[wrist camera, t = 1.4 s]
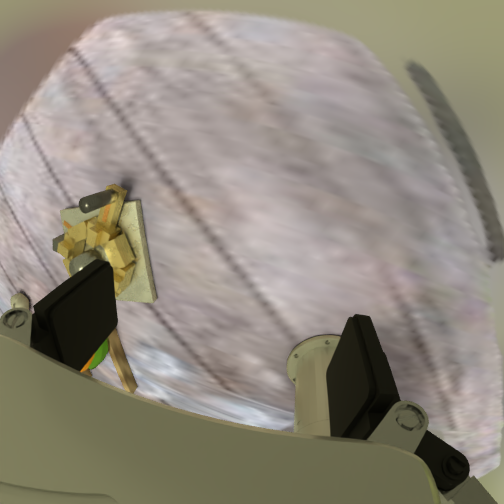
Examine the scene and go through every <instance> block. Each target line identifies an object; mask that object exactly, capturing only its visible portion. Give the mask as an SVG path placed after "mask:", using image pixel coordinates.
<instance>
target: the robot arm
mask: <svg viewBox="0 0 504 504" xmlns="http://www.w3.org/2000/svg"><path fill="white" fill-rule="evenodd" d="M33 307H34V311H35V313H34V314H32V313H31V312H30V311H29V310H28V309H26V308H13V309H10V310H8V311H6V312H5V313H4V314H3V315H2V316H1V318H0V504H498V503H497V502H496V501H495V500H494V499H493V497H492V496H491V495H490V494H489V493H488V492H487V490H486V489H485V488H484V487H483V486H482V485H481V483H480V482H479V481H478V480H477V479H476V478H475V476H472V477H471V478H470V477H469V471H470V467H469V463H468V460H467V459H466V457H465V456H464V455H463V454H462V453H461V452H459V451H458V450H456V449H455V448H453V447H452V446H450V445H449V444H447V443H446V442H444V441H443V440H441V439H440V438H438V437H437V436H435V435H434V434H432V433H431V432H429V431H428V430H427V428H428V424H429V420H428V416H427V414H426V412H425V411H424V409H423V408H422V407H420V406H419V405H418V404H416V403H414V402H410V401H401V400H400V397H399V394H398V390H397V387H396V384H395V381H394V378H393V375H392V372H391V369H390V366H389V363H388V360H387V357H386V355H385V353H384V352H383V350H382V348H381V345H380V342H379V339H378V336H377V334H376V331H375V328H374V326H373V323H372V320H371V318H370V316H366V315H359V314H355V315H354V316H353V317H349V318H348V320H347V323H346V325H345V328H344V330H343V333H342V335H341V337H340V336H335V335H323V336H317V337H313V338H310V339H308V340H305V341H303V342H302V343H300V344H299V345H298V346H296V347H295V348H294V349H293V351H292V352H291V353H290V355H289V357H288V360H287V374H288V376H289V378H290V380H291V381H292V382H293V383H294V384H295V385H296V386H295V413H294V432H287V431H279V430H273V429H266V428H260V427H255V426H249V425H244V424H239V423H234V422H229V421H225V420H220V419H216V418H212V417H208V416H204V415H200V414H196V413H192V412H189V411H185V410H182V409H178V408H175V407H172V406H168V405H165V404H162V403H159V402H156V401H153V400H150V399H147V398H144V397H141V396H138V395H135V394H133V393H130V392H127V391H125V390H122V389H119V388H117V387H114V386H112V385H109V384H107V383H104V382H102V381H100V380H97V379H95V378H93V377H90V376H88V375H86V374H84V373H81V372H80V371H81V370H82V369H83V367H84V366H85V365H86V364H87V362H88V361H89V360H90V359H91V357H92V356H93V355H94V354H95V352H96V351H97V350H98V349H99V347H100V346H101V345H102V344H103V343H104V341H105V340H106V339H107V338H108V336H109V335H110V334H111V333H112V332H113V330H114V329H115V328H116V326H117V323H118V318H117V309H116V298H115V287H114V272H113V267H112V266H111V265H110V263H109V262H108V261H104V260H100V259H95V260H93V261H92V262H91V263H89V264H88V265H86V266H85V267H84V268H82V269H81V270H80V271H78V272H77V273H75V274H74V275H73V276H71V277H70V278H69V279H67V280H66V281H65V282H63V283H62V284H61V285H59V286H58V287H57V288H56V289H54V290H53V291H52V292H50V293H49V294H48V295H47V296H45V297H44V298H43V299H41V300H40V301H39V302H38V303H36V304H35V305H34V306H33Z"/></svg>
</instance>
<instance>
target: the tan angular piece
mask: <svg viewBox="0 0 504 504" xmlns="http://www.w3.org/2000/svg"><path fill="white" fill-rule="evenodd" d="M126 193H127V190H125V189H123V188H121V187H119V186H118V185H116V184H112V185H109V186H107V187H106V190H105V191H102V192H99V193H95V194H92V195H89V196H86V197H83V198H81V199H80V201H79V208H80V210H81V212H82V213H85V214H86V213H89V212H91V211H94V210H96V209H99V208H100V211H99V215H98V217H97V218H96V216H94V217H92V218H90V219H88V220H85V221H83V222H81V223H79V224H77V225H75V226H73V227H71V228H69V229H67V230H68V232H66V233H65V236H64V240H63V241H61V242H59V243H58V249H57V252H58V253H60V254H61V255H62V256H63V257H65V259H63V263H64V265H65V267H66V269H67V272H68V274H69V276H70V277H71V274H70V271H69V263H70V261H71V260H72V259H74V258H75V257H77V256H78V255H80V254H82V253H83V249H84V244H85V240H86V238H87V240H86V243H87V244H88V245H90V246H92V247H93V248H95V247H96V246H98V245H101V246H102V247H104V250H105V252H106V255H107V257H108V259H109V261H110V264H111V266H112V267H113V272H114V287H115V297H118V296H119V295H120V294H121V293H122V292H123V291H124V290H125V289H126V288H127V287H128V286H129V284H130V281H131V277H132V274H133V271H134V267H135V264H134V263H133V262H132V261H133V260H134V259H135V257H134V255H133V253H132V250H131V248H130V246H129V243H128V241H127V238H126V236H125V233H123V234H120V235H119V233H120V228H119V227H117V226H116V225H117V221H118V218H119V214H120V211H121V208H122V205H123V202H124V199H125V196H126Z"/></svg>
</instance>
